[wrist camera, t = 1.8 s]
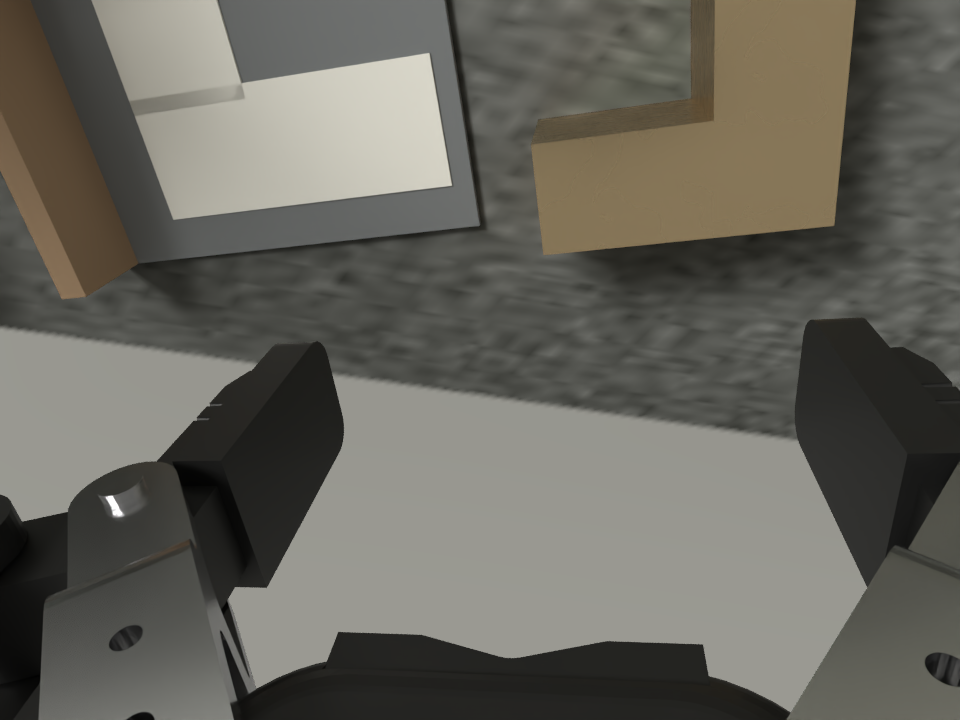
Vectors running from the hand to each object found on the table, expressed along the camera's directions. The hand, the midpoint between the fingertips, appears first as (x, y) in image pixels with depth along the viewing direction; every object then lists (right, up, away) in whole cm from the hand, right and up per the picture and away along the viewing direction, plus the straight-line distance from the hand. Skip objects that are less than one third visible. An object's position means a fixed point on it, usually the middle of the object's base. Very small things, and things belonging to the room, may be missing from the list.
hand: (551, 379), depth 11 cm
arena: (-11, +13, +16) cm, 24 cm away
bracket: (+6, +12, +14) cm, 20 cm away
